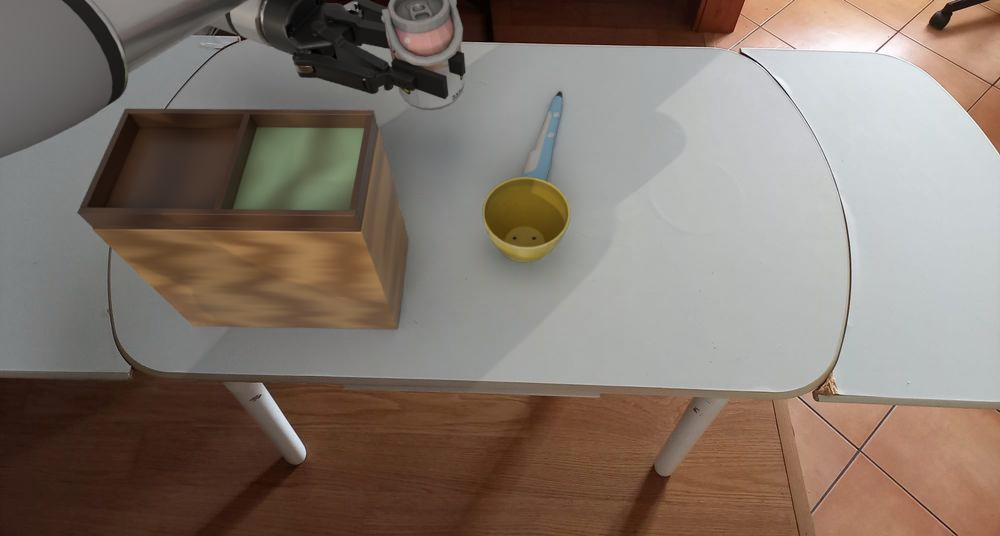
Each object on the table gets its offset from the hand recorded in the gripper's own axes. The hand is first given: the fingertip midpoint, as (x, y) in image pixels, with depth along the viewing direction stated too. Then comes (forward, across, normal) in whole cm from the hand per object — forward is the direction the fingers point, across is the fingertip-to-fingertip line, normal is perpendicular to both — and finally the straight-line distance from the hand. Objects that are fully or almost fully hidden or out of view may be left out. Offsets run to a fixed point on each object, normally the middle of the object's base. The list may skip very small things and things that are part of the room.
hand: (454, 76), depth 68 cm
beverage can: (-5, -3, -7) cm, 9 cm away
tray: (-10, +23, +3) cm, 25 cm away
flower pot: (+12, +6, -17) cm, 22 cm away
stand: (-10, +23, -17) cm, 30 cm away
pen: (+7, -9, -17) cm, 21 cm away
